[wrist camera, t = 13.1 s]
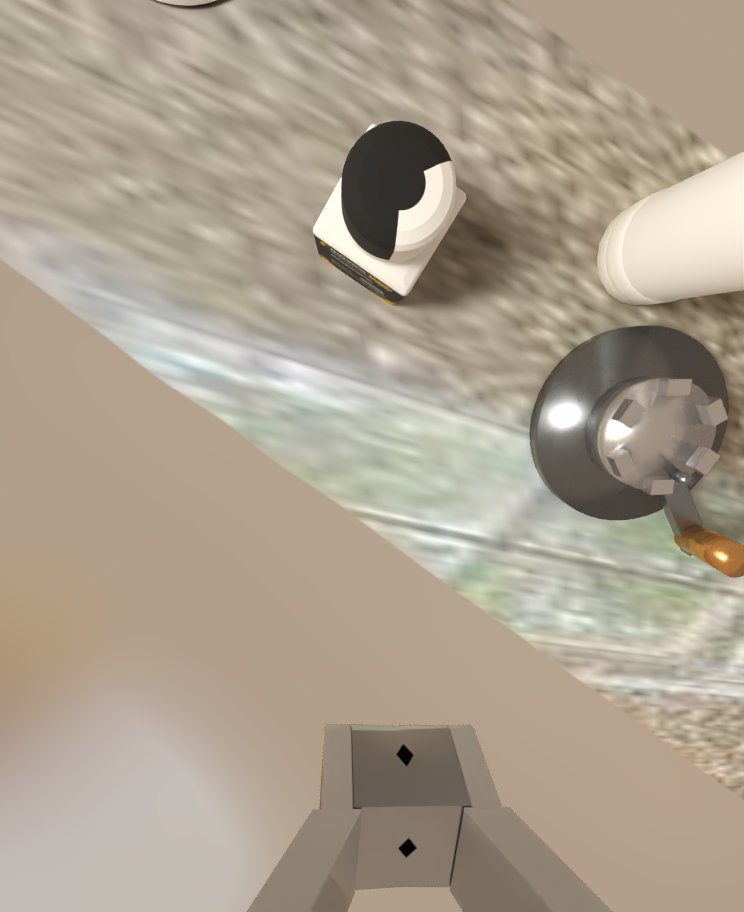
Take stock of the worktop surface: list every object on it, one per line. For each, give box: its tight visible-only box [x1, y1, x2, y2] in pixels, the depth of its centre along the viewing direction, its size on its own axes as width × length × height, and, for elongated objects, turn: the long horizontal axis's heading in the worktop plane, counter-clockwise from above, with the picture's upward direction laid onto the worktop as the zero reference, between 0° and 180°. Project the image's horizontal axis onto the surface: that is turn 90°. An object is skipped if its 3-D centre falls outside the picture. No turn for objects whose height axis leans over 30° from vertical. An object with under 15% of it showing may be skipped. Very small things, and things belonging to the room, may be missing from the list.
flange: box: [530, 326, 728, 520], centre depth 37 cm, size 17×17×2 cm
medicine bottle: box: [313, 121, 466, 305], centre depth 27 cm, size 7×7×12 cm
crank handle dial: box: [585, 376, 744, 578], centre depth 34 cm, size 17×9×6 cm, turn 31°
